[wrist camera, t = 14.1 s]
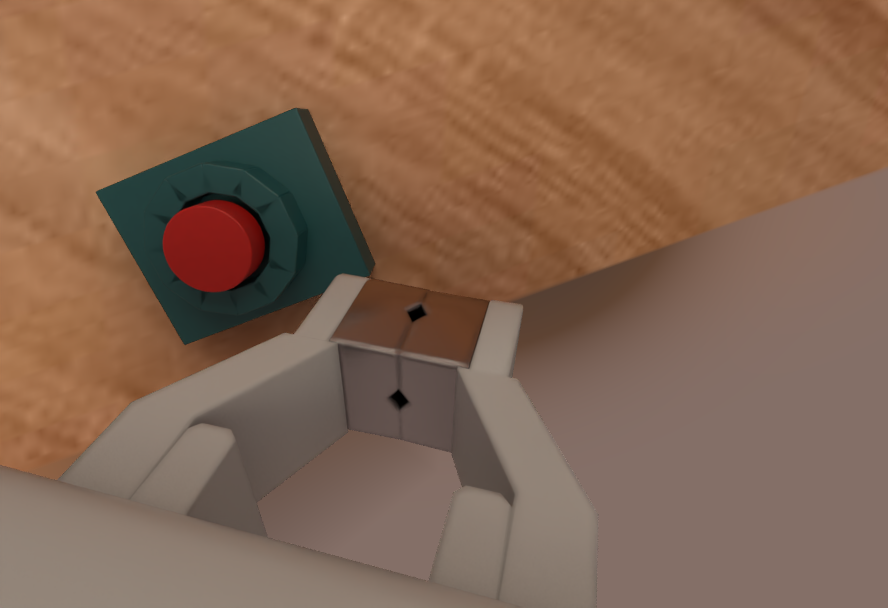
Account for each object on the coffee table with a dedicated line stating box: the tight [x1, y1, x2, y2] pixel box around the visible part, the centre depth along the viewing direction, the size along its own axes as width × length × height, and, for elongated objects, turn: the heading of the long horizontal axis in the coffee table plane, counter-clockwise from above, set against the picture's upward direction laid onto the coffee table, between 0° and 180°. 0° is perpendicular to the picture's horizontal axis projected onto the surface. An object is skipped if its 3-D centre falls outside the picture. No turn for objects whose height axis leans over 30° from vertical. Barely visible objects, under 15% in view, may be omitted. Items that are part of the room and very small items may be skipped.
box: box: [96, 108, 375, 345], centre depth 25 cm, size 10×8×4 cm
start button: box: [163, 200, 265, 292], centre depth 22 cm, size 4×4×2 cm
